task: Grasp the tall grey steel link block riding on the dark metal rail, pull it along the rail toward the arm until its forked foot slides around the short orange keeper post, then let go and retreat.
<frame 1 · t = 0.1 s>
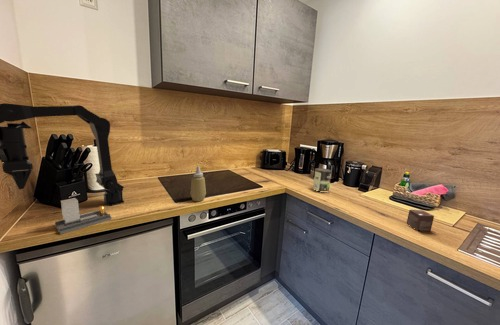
hand: (20, 185, 70), 15 cm above the worktop, fingers open, 9 cm apart
rail: (84, 222, 76), on the worktop
squeeze bottle: (198, 200, 104), on the worktop
box: (417, 228, 86), on the worktop
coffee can: (320, 190, 131), on the worktop
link: (79, 209, 74), point 6 cm above the worktop, slide at 0.0 cm
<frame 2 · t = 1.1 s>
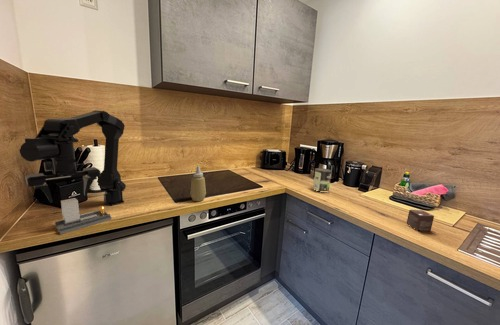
hand: (69, 198, 71), 10 cm above the worktop, fingers open, 9 cm apart
nothing on the worktop moved.
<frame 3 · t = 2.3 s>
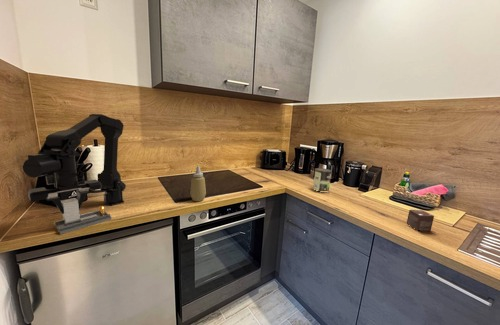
hand: (70, 211, 72), 6 cm above the worktop, fingers closed on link, 4 cm apart
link: (79, 209, 74), point 6 cm above the worktop, slide at 0.0 cm, touching gripper
everything else where it was.
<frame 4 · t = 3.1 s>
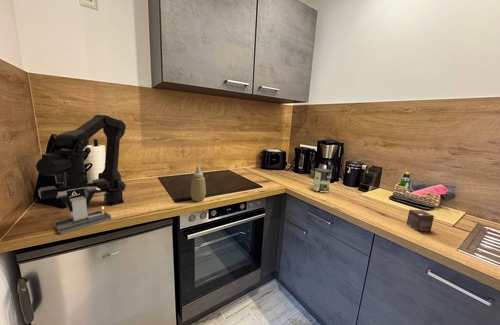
hand: (78, 209, 74), 5 cm above the worktop, fingers closed on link, 4 cm apart
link: (87, 207, 76), point 6 cm above the worktop, slide at 2.3 cm, touching gripper
everything else where it was.
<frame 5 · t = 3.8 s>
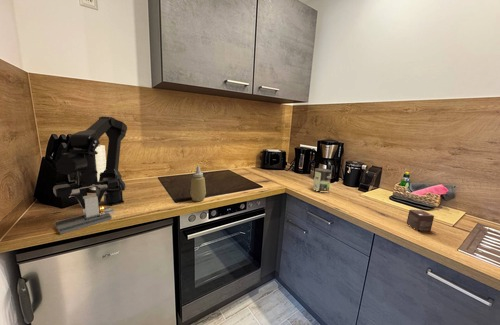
hand: (90, 206, 76), 5 cm above the worktop, fingers closed on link, 4 cm apart
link: (98, 204, 78), point 6 cm above the worktop, slide at 5.9 cm, touching gripper
everything else where it was.
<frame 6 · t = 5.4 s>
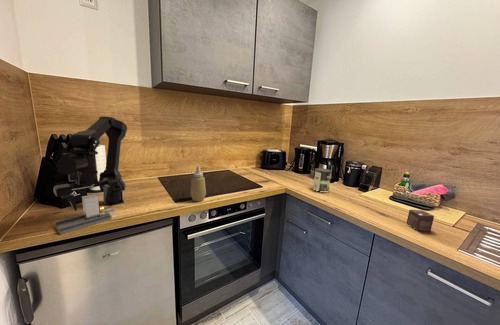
hand: (91, 206, 76), 5 cm above the worktop, fingers open, 9 cm apart
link: (98, 204, 78), point 6 cm above the worktop, slide at 6.0 cm
everything else where it was.
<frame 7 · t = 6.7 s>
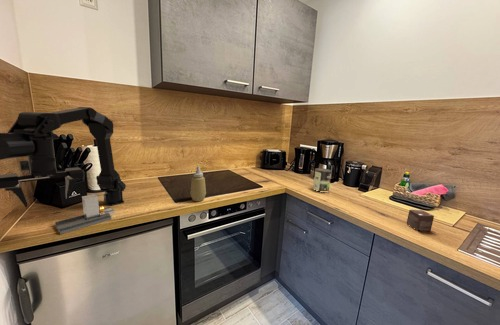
hand: (47, 202, 63), 12 cm above the worktop, fingers open, 9 cm apart
nothing on the worktop moved.
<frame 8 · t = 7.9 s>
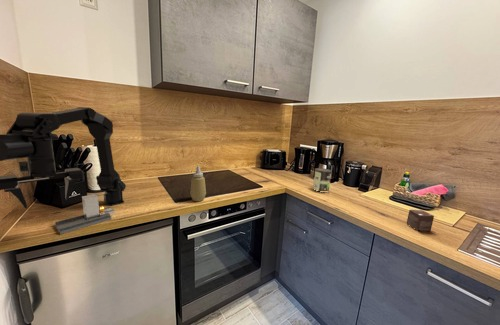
hand: (47, 203, 63), 12 cm above the worktop, fingers open, 9 cm apart
nothing on the worktop moved.
at the end: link slide at 6.0 cm; the gripper is holding nothing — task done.
